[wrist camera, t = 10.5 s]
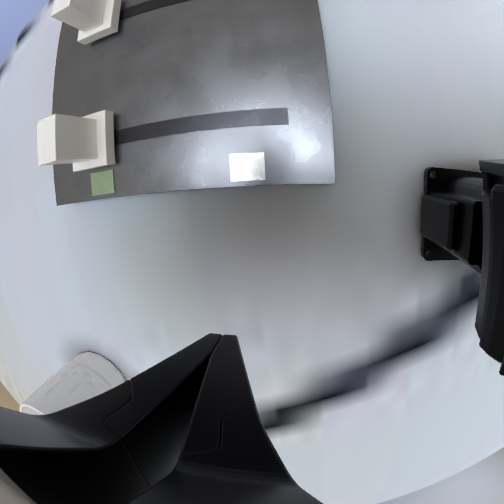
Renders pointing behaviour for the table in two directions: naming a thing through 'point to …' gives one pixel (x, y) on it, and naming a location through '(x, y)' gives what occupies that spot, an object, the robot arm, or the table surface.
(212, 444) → the robot arm
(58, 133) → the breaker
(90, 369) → the white cup
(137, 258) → the table surface
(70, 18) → the block
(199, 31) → the board
